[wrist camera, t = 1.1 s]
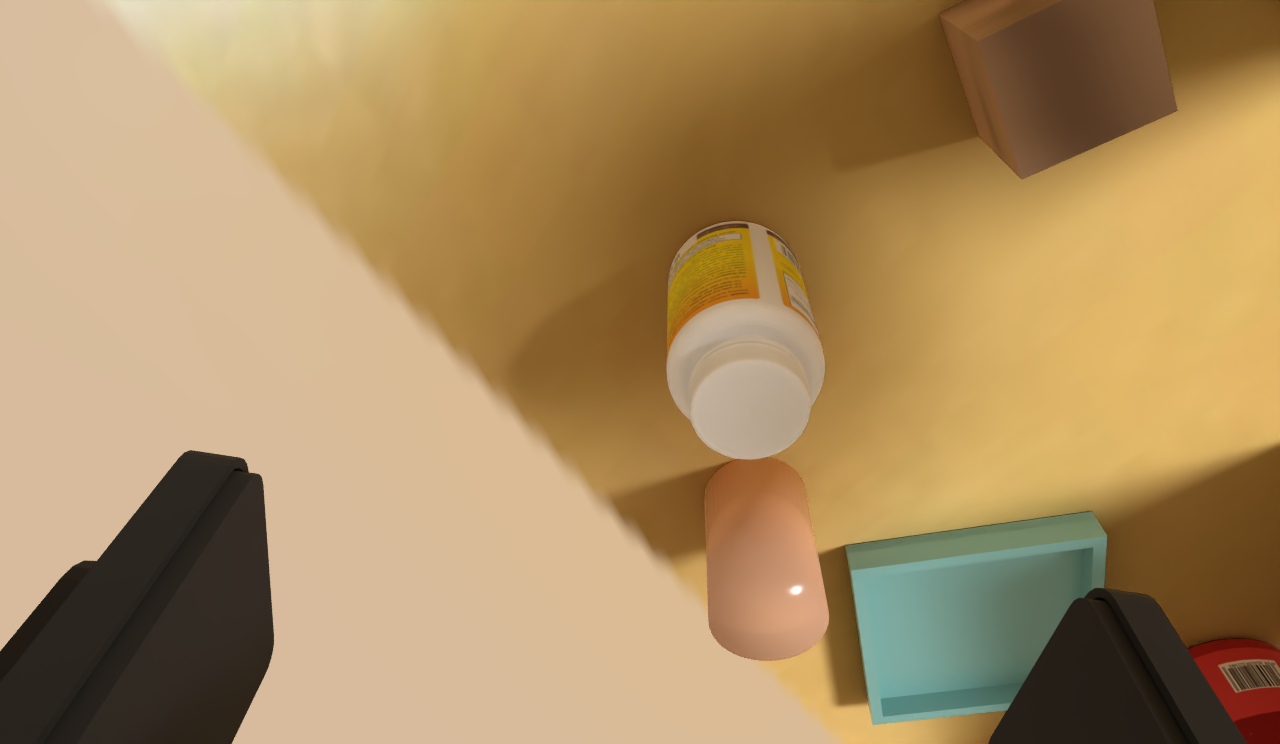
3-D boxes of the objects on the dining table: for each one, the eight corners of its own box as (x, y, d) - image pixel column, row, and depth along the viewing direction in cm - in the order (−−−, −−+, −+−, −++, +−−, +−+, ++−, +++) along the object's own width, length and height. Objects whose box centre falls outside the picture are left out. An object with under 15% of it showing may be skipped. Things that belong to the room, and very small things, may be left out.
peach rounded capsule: (798, 448, 42) (821, 568, 35) (812, 527, 44) (835, 653, 37) (695, 465, 43) (698, 585, 36) (714, 541, 45) (719, 666, 38)
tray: (1092, 511, 43) (1107, 536, 41) (1084, 673, 49) (1097, 700, 47) (845, 545, 45) (850, 570, 43) (867, 697, 51) (872, 724, 49)
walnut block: (1079, -58, 30) (1144, -41, 26) (1112, 74, 32) (1177, 110, 28) (937, 13, 32) (977, 41, 27) (978, 136, 34) (1021, 179, 30)
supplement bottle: (648, 308, 38) (638, 448, 29) (700, 195, 35) (706, 312, 27) (764, 352, 39) (787, 500, 30) (823, 245, 36) (868, 374, 28)
